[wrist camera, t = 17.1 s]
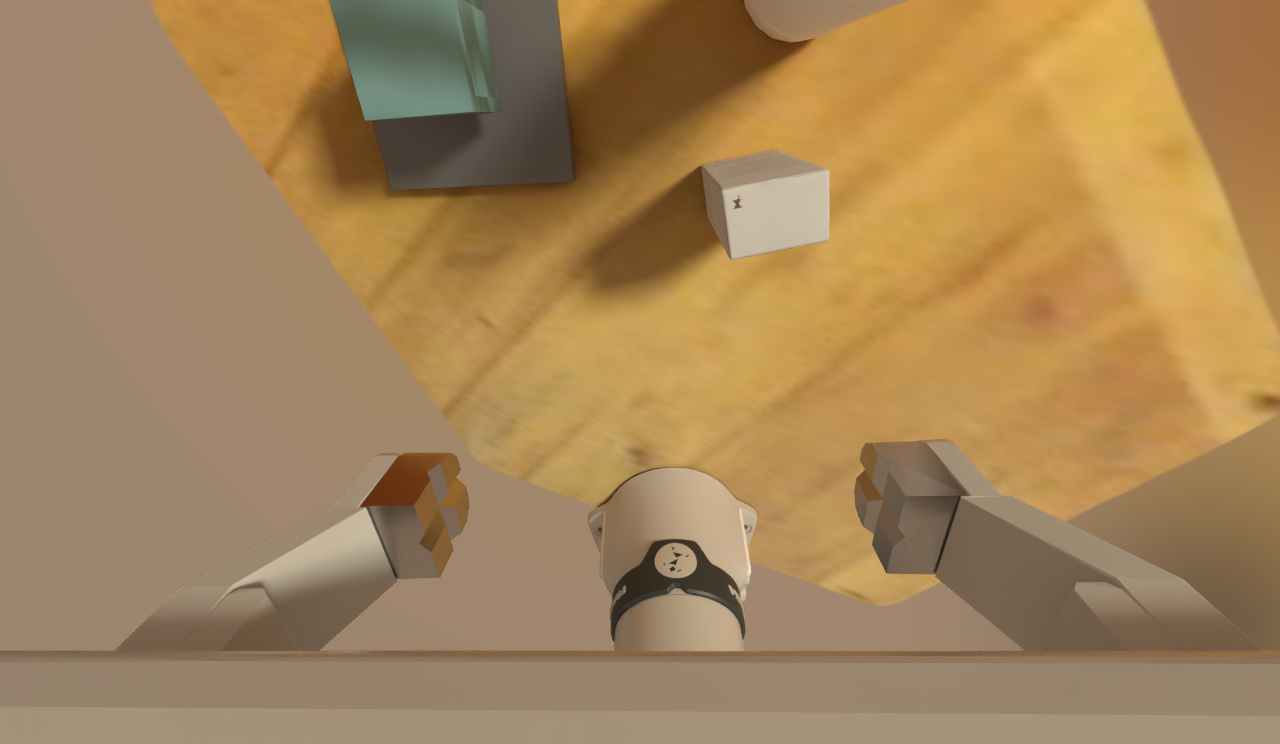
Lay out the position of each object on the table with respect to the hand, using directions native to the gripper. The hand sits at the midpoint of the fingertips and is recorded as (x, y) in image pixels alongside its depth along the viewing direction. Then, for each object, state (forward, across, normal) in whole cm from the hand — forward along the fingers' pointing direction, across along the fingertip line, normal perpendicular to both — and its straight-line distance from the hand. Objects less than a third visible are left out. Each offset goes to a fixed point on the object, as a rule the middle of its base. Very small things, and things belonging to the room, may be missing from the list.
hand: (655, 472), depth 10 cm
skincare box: (+33, -6, -1) cm, 34 cm away
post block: (+33, +13, -10) cm, 37 cm away
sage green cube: (+29, +13, -10) cm, 33 cm away
